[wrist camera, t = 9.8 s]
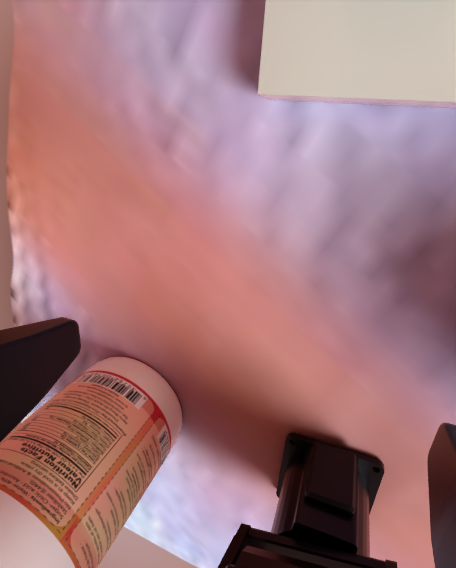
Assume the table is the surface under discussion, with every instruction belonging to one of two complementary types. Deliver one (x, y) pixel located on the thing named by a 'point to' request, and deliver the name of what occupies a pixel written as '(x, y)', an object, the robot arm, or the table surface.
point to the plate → (360, 52)
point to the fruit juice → (84, 465)
